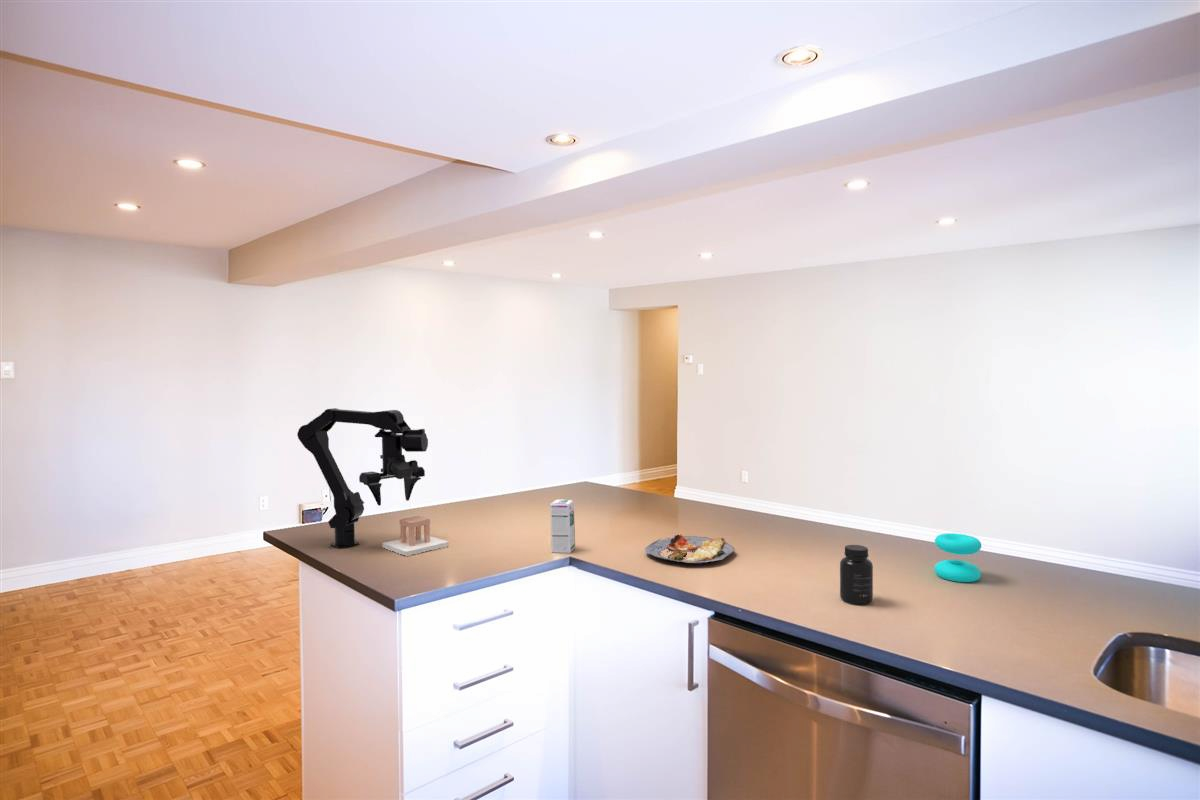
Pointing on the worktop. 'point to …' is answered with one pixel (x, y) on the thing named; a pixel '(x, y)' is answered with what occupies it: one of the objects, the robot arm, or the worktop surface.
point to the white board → (419, 545)
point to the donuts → (957, 568)
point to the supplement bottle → (856, 576)
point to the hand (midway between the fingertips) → (393, 502)
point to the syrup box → (562, 526)
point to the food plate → (691, 549)
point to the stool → (415, 529)
